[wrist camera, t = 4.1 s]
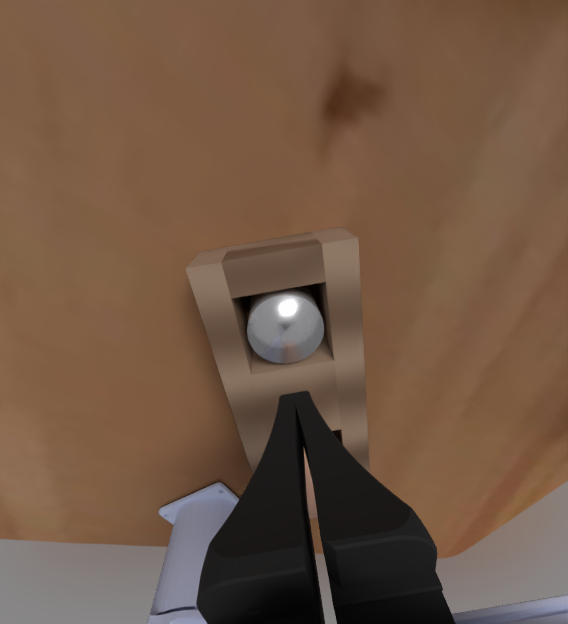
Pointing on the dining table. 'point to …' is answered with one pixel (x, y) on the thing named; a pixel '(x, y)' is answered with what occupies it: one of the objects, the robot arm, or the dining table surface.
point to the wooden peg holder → (302, 374)
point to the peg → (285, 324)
